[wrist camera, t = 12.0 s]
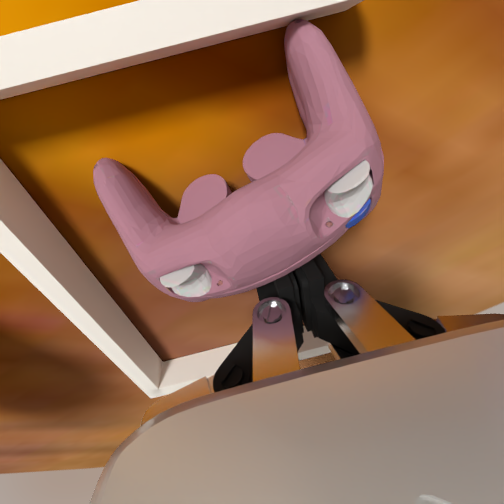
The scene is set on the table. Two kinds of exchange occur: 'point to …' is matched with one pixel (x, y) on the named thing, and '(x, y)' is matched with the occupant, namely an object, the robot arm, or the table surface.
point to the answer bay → (90, 64)
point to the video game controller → (260, 191)
